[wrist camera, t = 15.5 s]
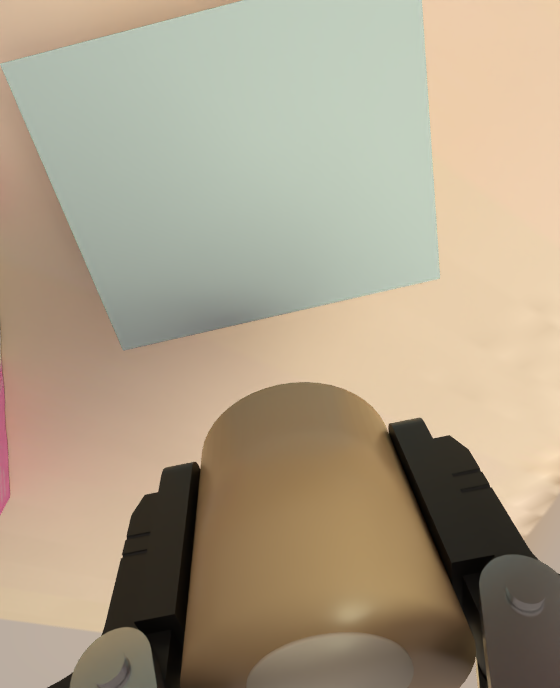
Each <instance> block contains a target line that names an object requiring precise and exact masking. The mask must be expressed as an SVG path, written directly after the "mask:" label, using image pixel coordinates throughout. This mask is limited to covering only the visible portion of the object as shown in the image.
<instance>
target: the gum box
mask: <svg viewBox="0 0 560 688" xmlns="http://www.w3.org/2000/svg"><path fill="white" fill-rule="evenodd" d="M9 498H10V488H9V471H8V446H7V435H6V428H5V396H4V382H3V375H2V362H1V332H0V514H1V513H2V511H3V509H4V507H5V505H6V503H7V501H8V500H9Z"/></svg>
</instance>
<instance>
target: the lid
mask: <svg viewBox="0 0 560 688" xmlns="http://www.w3.org/2000/svg"><path fill="white" fill-rule="evenodd" d="M0 66H1V68H2V70H3V73H4V75H5V77H6V80H7V82H8V84H9V86H10V89H11V91H12V93H13V96H14V98H15V100H16V103H17V105H18V107H19V110H20V112H21V114H22V117H23V119H24V121H25V124H26V126H27V128H28V131H29V133H30V135H31V138H32V140H33V142H34V145H35V147H36V149H37V152H38V154H39V156H40V159H41V161H42V163H43V166H44V168H45V170H46V173H47V175H48V177H49V180H50V182H51V184H52V186H53V189H54V191H55V193H56V196H57V198H58V200H59V203H60V205H61V207H62V210H63V212H64V214H65V217H66V219H67V221H68V224H69V226H70V228H71V231H72V233H73V235H74V238H75V240H76V242H77V245H78V247H79V249H80V252H81V254H82V256H83V259H84V261H85V263H86V266H87V268H88V270H89V273H90V275H91V277H92V280H93V282H94V284H95V286H96V289H97V291H98V293H99V296H100V298H101V300H102V303H103V305H104V307H105V310H106V312H107V314H108V317H109V319H110V321H111V324H112V326H113V328H114V331H115V333H116V335H117V338H118V340H119V342H120V345H121V347H122V349H123V351H124V350H128V349H133V348H137V347H141V346H146V345H150V344H155V343H159V342H163V341H168V340H172V339H176V338H181V337H185V336H190V335H194V334H198V333H203V332H207V331H212V330H216V329H220V328H225V327H229V326H234V325H238V324H242V323H247V322H251V321H255V320H260V319H264V318H269V317H273V316H277V315H282V314H286V313H291V312H295V311H299V310H304V309H308V308H313V307H317V306H321V305H326V304H330V303H334V302H339V301H343V300H348V299H352V298H356V297H361V296H365V295H370V294H374V293H378V292H383V291H387V290H392V289H396V288H400V287H405V286H409V285H414V284H418V283H422V282H427V281H431V280H435V279H440V270H439V255H438V240H437V224H436V209H435V194H434V179H433V163H432V148H431V133H430V118H429V102H428V87H427V72H426V57H425V41H424V26H423V11H422V0H242V1H238V2H235V3H231V4H227V5H223V6H219V7H215V8H212V9H208V10H204V11H200V12H196V13H193V14H189V15H185V16H181V17H177V18H173V19H170V20H166V21H162V22H158V23H154V24H150V25H147V26H143V27H139V28H135V29H131V30H127V31H124V32H120V33H116V34H112V35H108V36H104V37H101V38H97V39H93V40H89V41H85V42H82V43H78V44H74V45H70V46H66V47H62V48H59V49H55V50H51V51H47V52H43V53H39V54H36V55H32V56H28V57H24V58H20V59H16V60H13V61H9V62H5V63H1V64H0Z"/></svg>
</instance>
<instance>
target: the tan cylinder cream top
mask: <svg viewBox="0 0 560 688" xmlns="http://www.w3.org/2000/svg"><path fill="white" fill-rule="evenodd" d="M475 657H476V644H475V640H474V637H473V635H472V632H471V630H470V627H469V625H468V622H467V620H466V618H465V615H464V613H463V610H462V608H461V606H460V603H459V601H458V598H457V596H456V594H455V591H454V589H453V586H452V584H451V582H450V579H449V577H448V574H447V572H446V570H445V567H444V565H443V562H442V560H441V558H440V555H439V553H438V551H437V548H436V546H435V543H434V541H433V539H432V536H431V534H430V531H429V529H428V527H427V524H426V522H425V519H424V517H423V515H422V512H421V510H420V507H419V505H418V503H417V500H416V498H415V495H414V493H413V491H412V488H411V486H410V483H409V481H408V479H407V476H406V474H405V471H404V469H403V467H402V464H401V462H400V460H399V457H398V455H397V452H396V450H395V448H394V445H393V443H392V440H391V438H390V436H389V433H388V431H387V428H386V426H385V424H384V422H383V420H382V419H381V417H380V415H379V414H378V413H377V412H376V411H375V409H374V408H373V407H372V406H371V405H369V404H368V403H367V402H366V401H365V400H363V399H362V398H360V397H359V396H357V395H355V394H353V393H351V392H349V391H347V390H345V389H342V388H338V387H335V386H332V385H327V384H321V383H310V382H299V383H287V384H281V385H276V386H272V387H268V388H265V389H262V390H260V391H257V392H254V393H252V394H250V395H248V396H246V397H244V398H243V399H241V400H239V401H238V402H236V403H235V404H233V405H232V406H231V407H229V408H228V409H227V410H226V411H225V412H224V413H223V414H222V415H221V416H220V417H219V418H218V419H217V420H216V422H215V423H214V424H213V426H212V428H211V429H210V431H209V432H208V435H207V437H206V439H205V442H204V446H203V450H202V458H201V469H200V479H199V489H198V500H197V510H196V521H195V531H194V542H193V552H192V562H191V573H190V583H189V594H188V604H187V615H186V625H185V636H184V646H183V656H182V667H181V678H180V688H459V687H460V686H461V685H462V684H463V683H464V682H465V680H466V679H467V677H468V675H469V674H470V672H471V670H472V667H473V665H474V662H475Z"/></svg>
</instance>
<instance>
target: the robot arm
mask: <svg viewBox="0 0 560 688" xmlns="http://www.w3.org/2000/svg"><path fill="white" fill-rule="evenodd" d="M389 436H390V438H391V440H392V443H393V445H394V448H395V450H396V452H397V455H398V457H399V460H400V462H401V464H402V467H403V469H404V471H405V474H406V476H407V479H408V481H409V483H410V486H411V488H412V491H413V493H414V495H415V498H416V500H417V503H418V505H419V507H420V510H421V512H422V515H423V517H424V519H425V522H426V524H427V527H428V529H429V531H430V534H431V536H432V539H433V541H434V543H435V546H436V548H437V551H438V553H439V555H440V558H441V560H442V562H443V565H444V567H445V570H446V572H447V574H448V577H449V579H450V582H451V584H452V586H453V589H454V591H455V594H456V596H457V598H458V601H459V603H460V606H461V608H462V610H463V613H464V615H465V618H466V620H467V622H468V625H469V627H470V630H471V632H472V635H473V637H474V640H475V644H476V674H477V684H478V688H560V574H558V573H557V572H555V571H554V570H553V569H552V568H550V567H549V566H548V565H546V564H544V563H542V562H541V561H539V560H538V559H537V558H536V557H535V556H534V555H533V554H532V552H531V551H530V549H529V548H528V546H527V545H526V543H525V541H524V540H523V538H522V537H521V535H520V533H519V532H518V530H517V528H516V527H515V525H514V523H513V522H512V520H511V518H510V517H509V515H508V514H507V512H506V510H505V509H504V507H503V505H502V504H501V502H500V500H499V499H498V497H497V496H496V494H495V492H494V491H493V489H492V488H490V485H489V482H488V481H487V479H486V478H485V476H484V474H483V473H482V472H481V471H480V468H479V466H478V464H477V463H476V461H475V459H474V458H473V456H472V455H471V453H470V451H469V450H468V449H467V448H466V447H464V446H463V445H462V444H460V443H459V442H458V441H456V440H455V439H454V438H452V437H451V436H450V435H449V436H444V437H439V438H434V439H433V438H432V436H431V434H430V432H429V430H428V428H427V426H426V425H425V423H424V421H423V420H422V419H421V418H416V419H411V420H405V421H400V422H395V423H390V424H389ZM199 479H200V468H199V465H198V464H197V463H196V462H192V463H187V464H181V465H176V466H171V467H166V468H164V469H163V471H162V475H161V481H160V486H159V491H158V492H157V493H152V494H147V495H144V497H143V498H142V500H141V501H140V503H139V505H138V506H137V508H136V509H135V511H134V512H133V514H132V516H131V520H130V524H129V528H128V532H127V540H125V545H124V549H123V553H122V555H123V558H121V561H120V565H119V569H118V573H117V578H116V582H115V586H114V590H113V594H112V598H111V602H110V607H109V611H108V615H107V619H106V623H105V627H104V630H103V633H102V636H101V637H99V638H98V639H97V640H95V641H94V642H93V643H92V644H91V645H90V646H89V647H88V648H87V650H86V651H85V652H84V653H83V655H82V656H81V658H80V659H79V661H78V663H77V665H76V667H75V669H74V672H73V673H72V674H70V675H69V676H67V677H66V678H64V679H62V680H61V681H59V682H57V683H55V684H53V685H51V686H50V687H48V688H180V678H181V667H182V656H183V646H184V636H185V625H186V615H187V604H188V594H189V583H190V573H191V562H192V552H193V542H194V531H195V521H196V510H197V500H198V489H199Z"/></svg>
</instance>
